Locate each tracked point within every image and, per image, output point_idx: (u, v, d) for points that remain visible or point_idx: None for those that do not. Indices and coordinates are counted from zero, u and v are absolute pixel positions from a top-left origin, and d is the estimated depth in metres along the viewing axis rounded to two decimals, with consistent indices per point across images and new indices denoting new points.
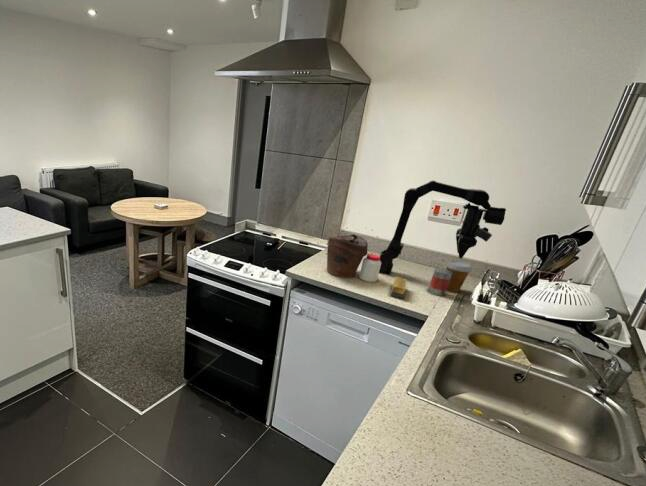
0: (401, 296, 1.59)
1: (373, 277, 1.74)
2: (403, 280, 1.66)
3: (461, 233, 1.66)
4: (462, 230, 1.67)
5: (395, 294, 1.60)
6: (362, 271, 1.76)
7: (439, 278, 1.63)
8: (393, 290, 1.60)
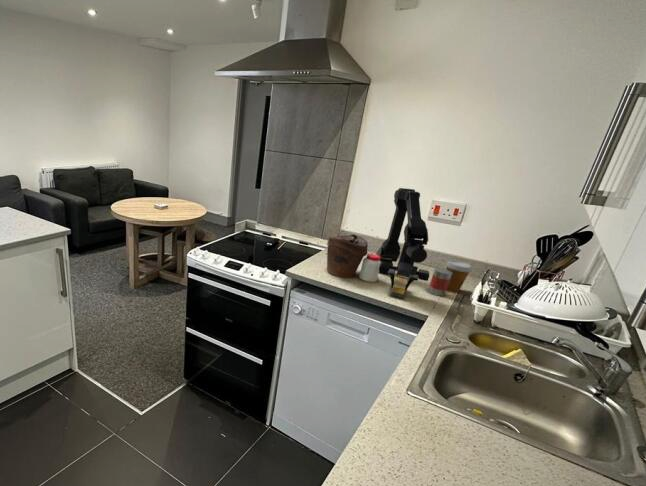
0: (401, 296, 1.59)
1: (373, 277, 1.74)
2: (403, 280, 1.66)
3: None
4: None
5: (395, 294, 1.60)
6: (362, 271, 1.76)
7: (439, 278, 1.63)
8: (393, 290, 1.60)
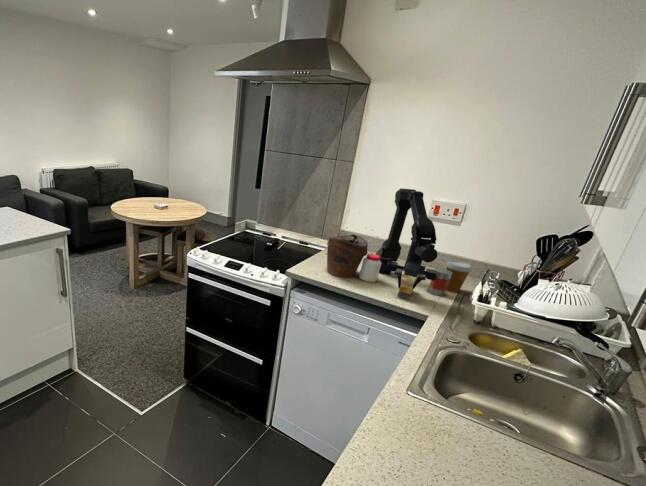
0: (408, 296, 1.58)
1: (373, 277, 1.74)
2: (410, 280, 1.65)
3: None
4: None
5: (402, 294, 1.59)
6: (362, 271, 1.76)
7: (439, 278, 1.63)
8: (400, 290, 1.58)
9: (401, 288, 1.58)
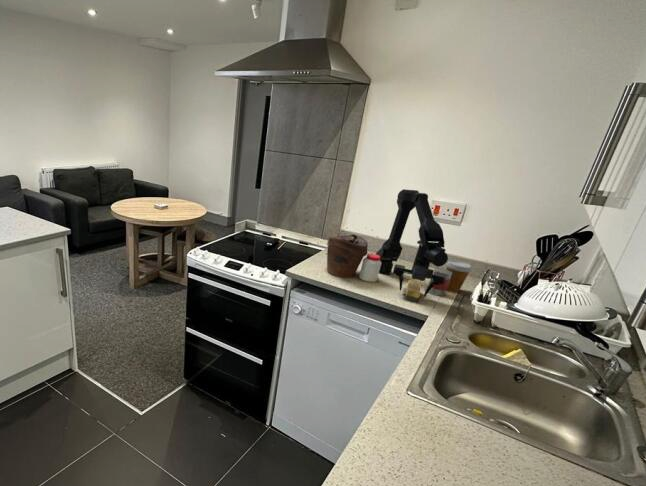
0: (416, 300, 1.57)
1: (373, 277, 1.74)
2: (417, 283, 1.64)
3: None
4: None
5: (410, 298, 1.58)
6: (362, 271, 1.76)
7: None
8: (408, 293, 1.58)
9: (408, 292, 1.57)
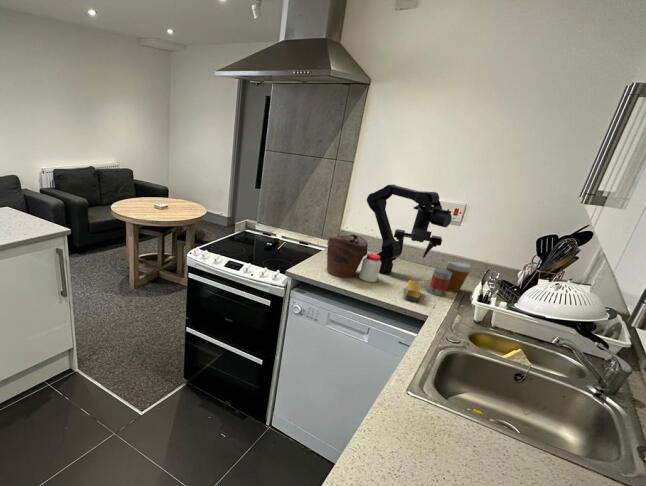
0: (416, 300, 1.57)
1: (373, 277, 1.74)
2: (417, 283, 1.64)
3: None
4: None
5: (410, 298, 1.58)
6: (362, 271, 1.76)
7: (439, 278, 1.63)
8: (408, 293, 1.58)
9: (408, 292, 1.57)
